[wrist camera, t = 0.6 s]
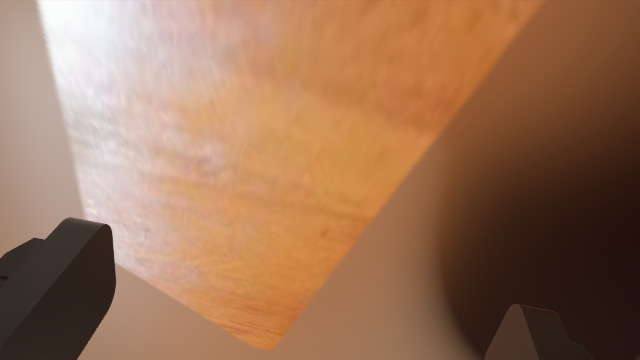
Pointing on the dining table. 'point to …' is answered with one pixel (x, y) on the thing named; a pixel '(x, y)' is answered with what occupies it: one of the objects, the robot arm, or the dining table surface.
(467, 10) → the dining table surface
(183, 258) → the dining table surface
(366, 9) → the dining table surface
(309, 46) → the dining table surface
